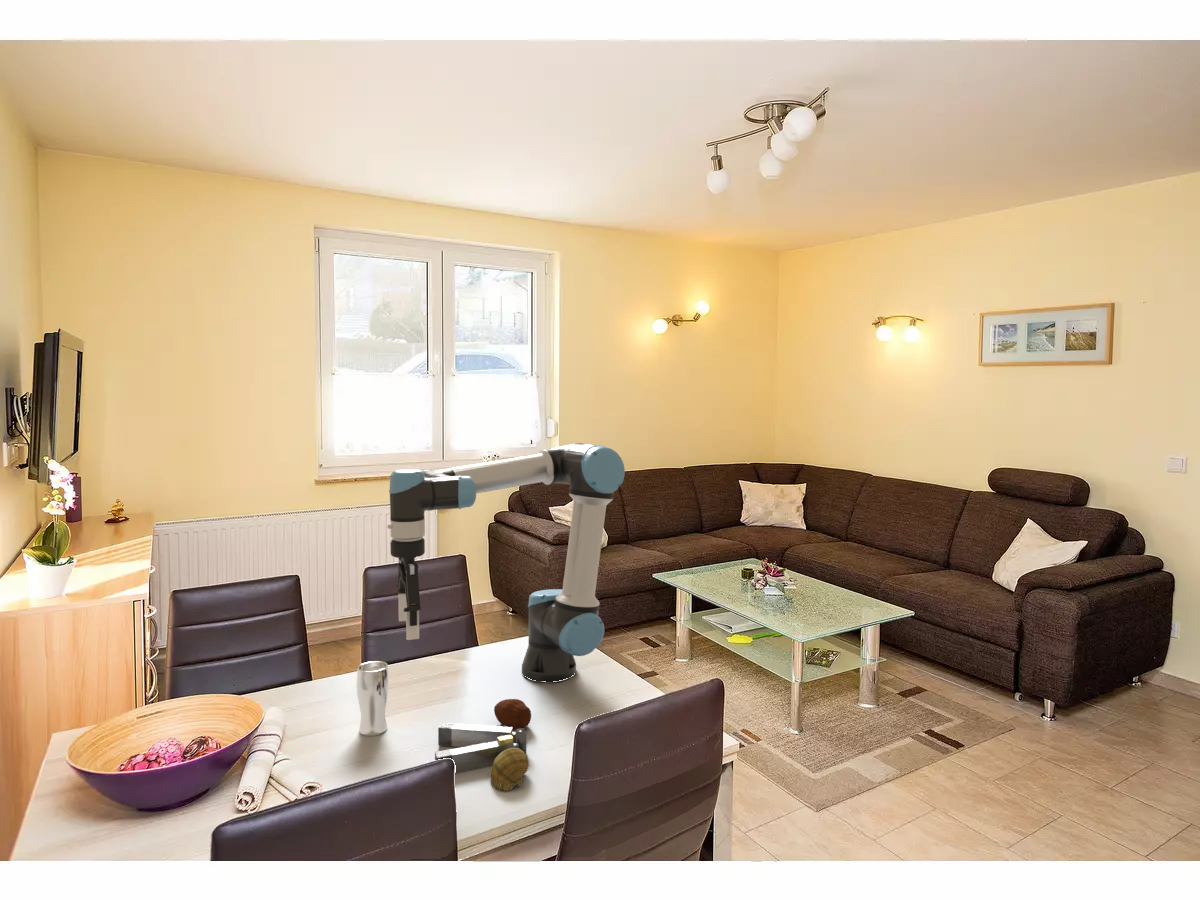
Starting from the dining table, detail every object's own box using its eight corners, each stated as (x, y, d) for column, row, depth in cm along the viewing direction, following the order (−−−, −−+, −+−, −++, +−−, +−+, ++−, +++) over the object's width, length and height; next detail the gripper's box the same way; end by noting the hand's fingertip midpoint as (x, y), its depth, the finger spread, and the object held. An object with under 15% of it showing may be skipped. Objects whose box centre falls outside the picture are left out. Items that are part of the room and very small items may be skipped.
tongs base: (524, 749, 156) (524, 727, 156) (530, 758, 152) (530, 735, 152) (433, 767, 148) (433, 744, 148) (437, 777, 144) (437, 753, 144)
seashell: (515, 809, 141) (542, 777, 141) (489, 795, 138) (517, 763, 138) (503, 776, 150) (528, 746, 150) (478, 762, 146) (504, 732, 147)
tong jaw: (518, 745, 157) (518, 727, 157) (515, 750, 155) (515, 732, 155) (441, 740, 159) (441, 722, 159) (438, 745, 157) (438, 727, 156)
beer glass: (377, 739, 160) (376, 673, 158) (350, 734, 162) (350, 669, 160) (395, 725, 166) (394, 662, 165) (369, 721, 168) (368, 659, 167)
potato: (512, 738, 161) (512, 710, 161) (487, 724, 168) (488, 697, 167) (536, 728, 166) (536, 701, 166) (511, 715, 173) (511, 689, 172)
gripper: (384, 529, 172) (385, 615, 174) (397, 550, 149) (398, 649, 151) (416, 527, 175) (417, 611, 177) (433, 548, 152) (434, 645, 154)
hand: (408, 629), depth 164 cm, fingers open, 13 cm apart
